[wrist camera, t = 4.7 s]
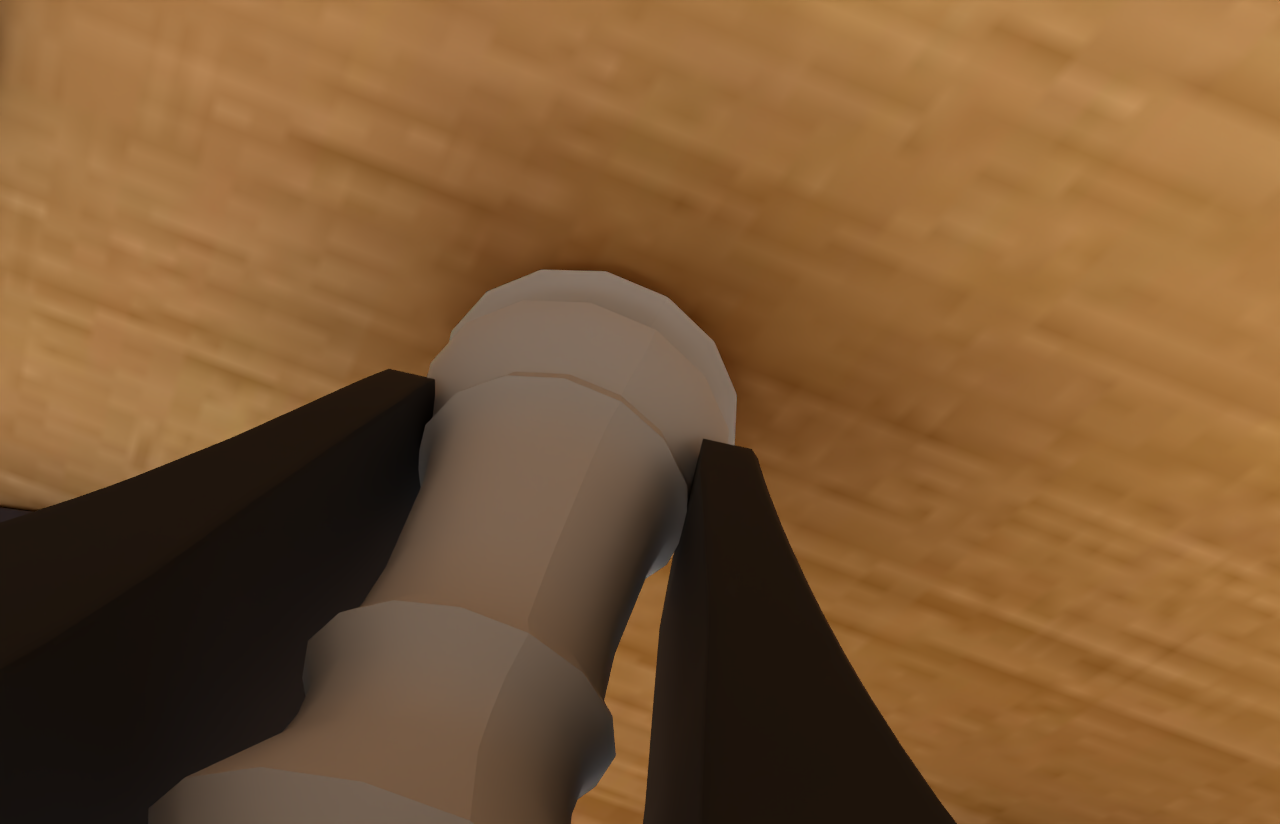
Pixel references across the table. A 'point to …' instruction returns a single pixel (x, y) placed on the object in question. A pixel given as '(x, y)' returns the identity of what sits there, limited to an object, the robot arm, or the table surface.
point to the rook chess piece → (499, 574)
